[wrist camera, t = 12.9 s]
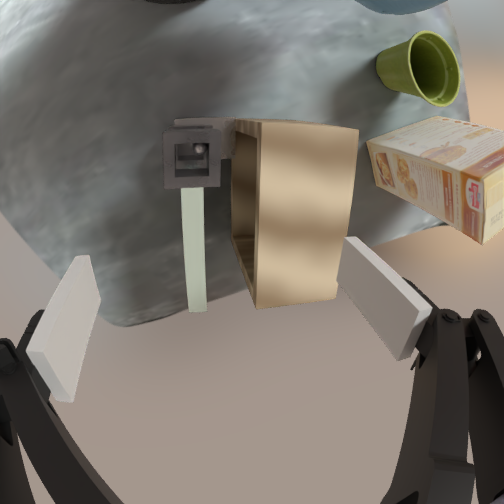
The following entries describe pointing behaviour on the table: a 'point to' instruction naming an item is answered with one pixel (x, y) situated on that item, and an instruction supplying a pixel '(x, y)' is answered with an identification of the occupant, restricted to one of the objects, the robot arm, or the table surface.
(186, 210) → the square frame paddle
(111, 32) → the table surface
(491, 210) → the coffeecake box
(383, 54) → the plant pot
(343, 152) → the cabinet
